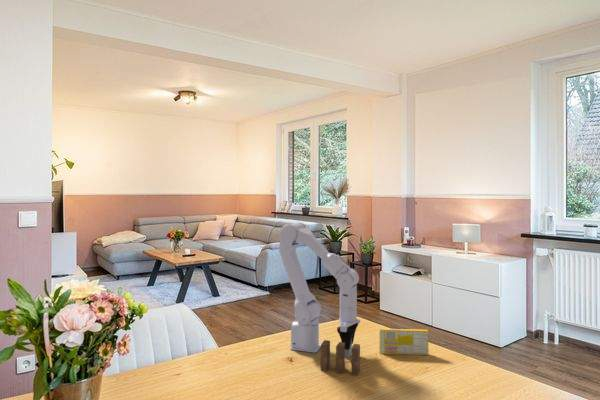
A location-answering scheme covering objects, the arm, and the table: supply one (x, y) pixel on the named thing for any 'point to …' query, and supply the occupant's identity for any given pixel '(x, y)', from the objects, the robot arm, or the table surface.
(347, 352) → the domino
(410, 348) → the candy box
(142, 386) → the table surface
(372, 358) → the table surface
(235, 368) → the table surface
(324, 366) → the domino
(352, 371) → the domino
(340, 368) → the domino
